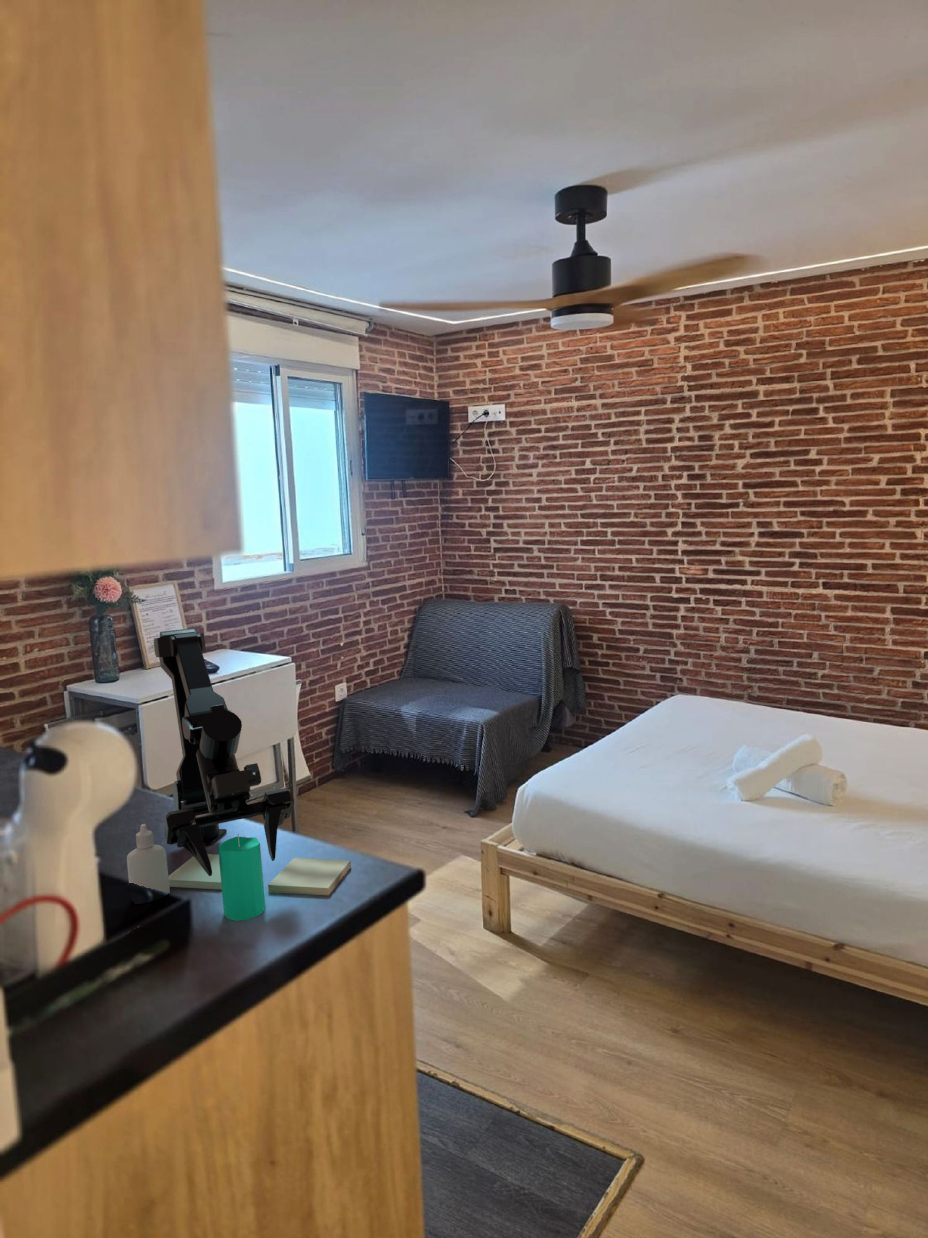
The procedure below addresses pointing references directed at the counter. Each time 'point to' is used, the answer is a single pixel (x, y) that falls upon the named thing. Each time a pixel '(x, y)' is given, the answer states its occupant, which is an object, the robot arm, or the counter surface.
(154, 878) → the eye dropper bottle
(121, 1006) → the counter surface
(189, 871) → the sage tile
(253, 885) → the candle
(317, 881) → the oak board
